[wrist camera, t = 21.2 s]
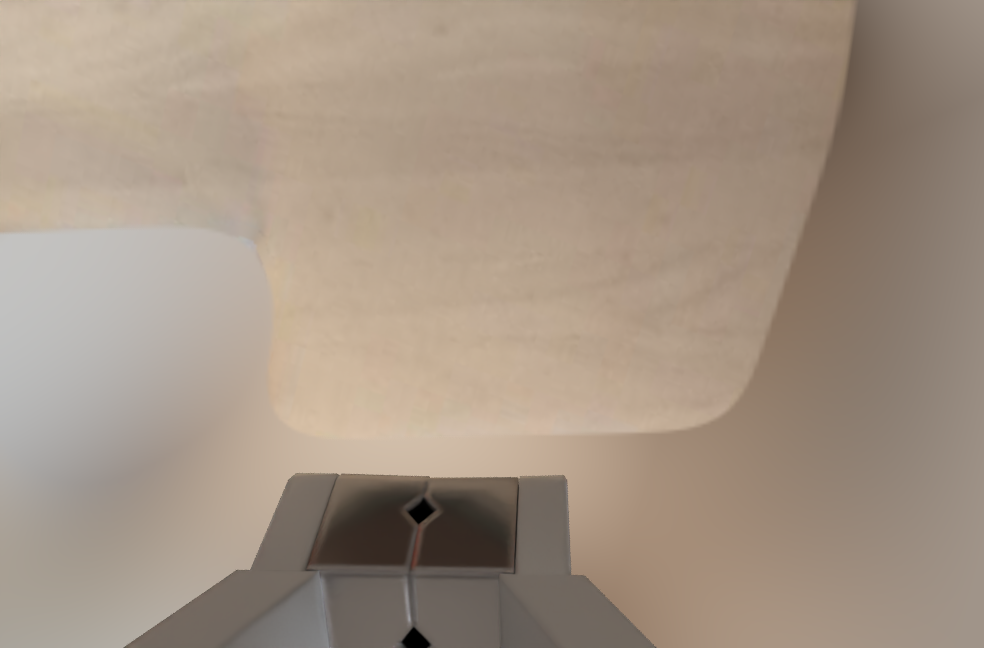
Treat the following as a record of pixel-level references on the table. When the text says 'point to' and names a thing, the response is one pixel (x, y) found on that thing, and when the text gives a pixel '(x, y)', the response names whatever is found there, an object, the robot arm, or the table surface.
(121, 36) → the table surface
